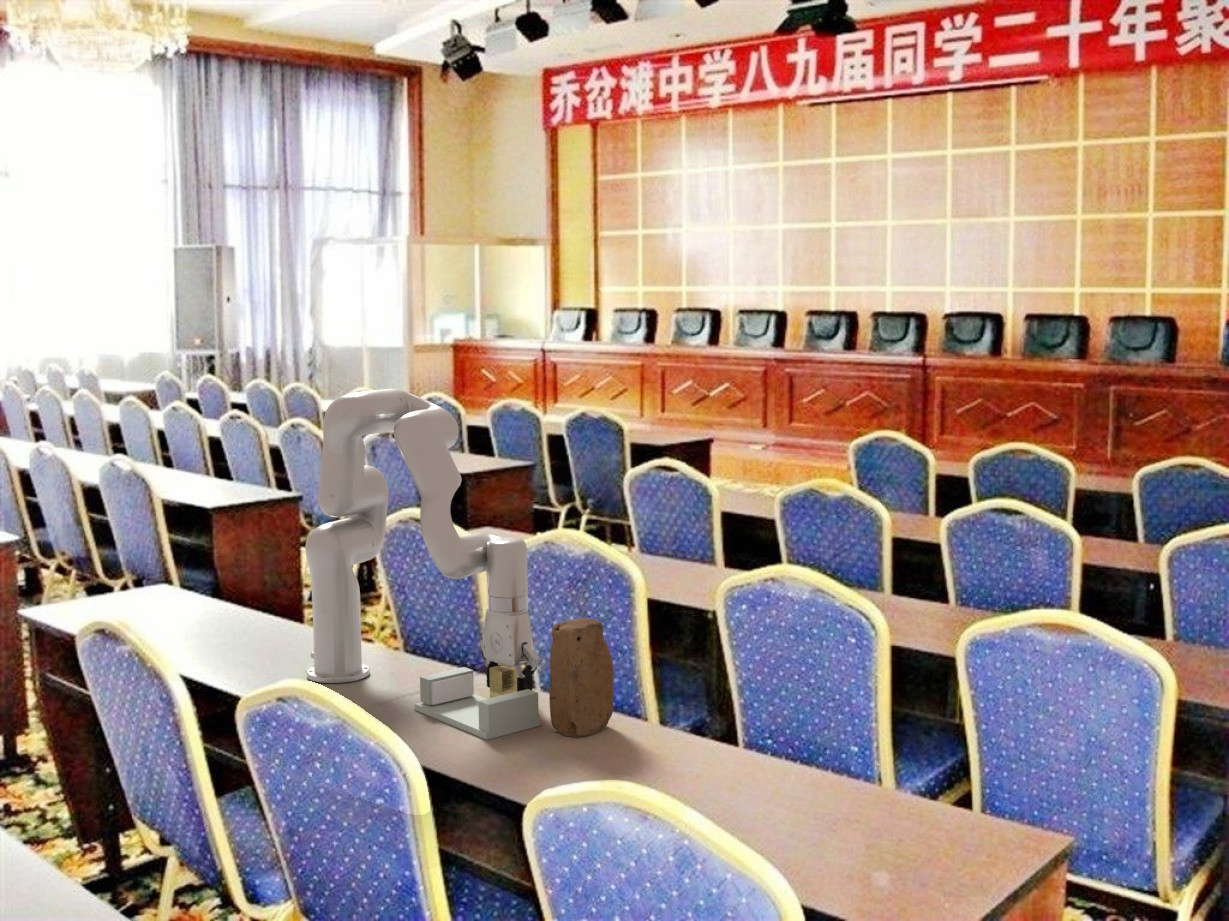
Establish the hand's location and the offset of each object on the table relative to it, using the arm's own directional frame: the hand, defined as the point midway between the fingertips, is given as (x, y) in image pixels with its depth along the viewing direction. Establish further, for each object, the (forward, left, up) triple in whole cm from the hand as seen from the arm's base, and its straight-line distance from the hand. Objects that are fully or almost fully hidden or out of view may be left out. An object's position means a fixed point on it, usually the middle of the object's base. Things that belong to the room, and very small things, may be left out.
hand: (509, 691), depth 264 cm
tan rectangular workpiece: (0, 0, -2) cm, 2 cm away
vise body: (+3, -10, -2) cm, 11 cm away
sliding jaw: (-6, -10, -1) cm, 12 cm away
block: (+22, 0, -2) cm, 22 cm away
